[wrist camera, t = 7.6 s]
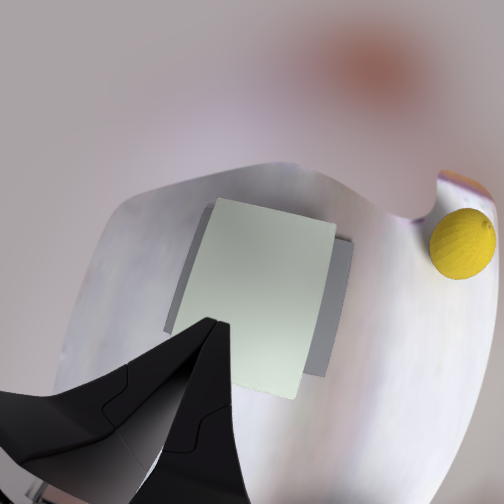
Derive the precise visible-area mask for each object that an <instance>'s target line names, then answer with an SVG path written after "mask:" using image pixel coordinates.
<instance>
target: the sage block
mask: <svg viewBox="0 0 504 504" xmlns="http://www.w3.org/2000/svg"><path fill="white" fill-rule="evenodd" d="M336 227H337V225H336V224H332V223H328V222H324V221H320V220H316V219H312V218H308V217H304V216H300V215H296V214H292V213H288V212H284V211H279V210H275V209H271V208H266V207H262V206H257V205H253V204H248V203H243V202H239V201H234V200H229V199H224V198H220V197H218V198H217V201H216V203H215V206H214V209H213V211H212V214H211V217H210V219H209V222H208V225H207V228H206V230H205V233H204V236H203V239H202V242H201V245H200V247H199V250H198V253H197V256H196V259H195V262H194V265H193V268H192V271H191V274H190V277H189V280H188V283H187V286H186V289H185V292H184V295H183V299H182V302H181V305H180V308H179V311H178V314H177V318H176V321H175V324H174V328H173V331H172V334H171V337H173V336H175V335H176V334H178V333H180V332H181V331H183V330H185V329H186V328H188V327H190V326H191V325H193V324H195V323H196V322H198V321H200V320H201V319H203V318H205V317H210V318H214V319H216V320H218V321H223V322H227V323H229V324H230V339H231V383H232V384H235V385H238V386H242V387H245V388H249V389H253V390H256V391H260V392H264V393H268V394H272V395H276V396H280V397H285V398H289V399H295V396H296V393H297V390H298V387H299V383H300V380H301V377H302V373H303V370H304V366H305V363H306V359H307V356H308V352H309V349H310V345H311V341H312V337H313V333H314V330H315V326H316V322H317V318H318V314H319V309H320V305H321V301H322V297H323V292H324V288H325V283H326V278H327V274H328V269H329V264H330V259H331V254H332V249H333V243H334V238H335V232H336Z"/></svg>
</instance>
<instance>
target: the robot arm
mask: <svg viewBox="0 0 504 504" xmlns="http://www.w3.org/2000/svg"><path fill="white" fill-rule="evenodd" d="M231 404H232V398H231V339H230V324H229V323H227V322H223V321H218V320H216V319H214V318H210V317H205V318H203V319H201V320H200V321H198V322H196V323H195V324H193V325H191V326H190V327H188V328H186V329H185V330H183V331H181V332H180V333H178V334H176V335H175V336H173V337H171V338H170V339H168V340H166V341H165V342H163V343H161V344H159V345H158V346H156V347H154V348H153V349H151V350H149V351H148V352H146V353H144V354H142V355H141V356H139V357H137V358H135V359H134V360H132V361H130V362H128V364H125V365H123V366H121V367H119V368H118V369H116V370H114V371H112V372H110V373H108V374H106V375H104V376H102V377H100V378H98V379H95V380H93V381H91V382H88V383H86V384H83V385H81V386H78V387H76V388H73V389H71V390H68V391H65V392H63V393H60V394H57V395H53V396H44V397H39V396H31V395H23V394H16V393H10V392H4V391H0V504H251V502H250V499H249V497H248V494H247V491H246V488H245V484H244V480H243V476H242V472H241V467H240V463H239V458H238V454H237V449H236V444H235V438H234V432H233V421H232V405H231ZM163 445H164V447H163ZM162 447H163V449H162ZM161 449H162V453H161V455H160V457H159V460H158V462H157V464H156V466H155V468H154V469H153V471H152V472H151V474H150V475H149V476H148V478H147V479H146V481H145V482H144V483H143V485H142V486H141V487H140V489H139V490H138V488H139V486H140V485H141V483H142V481H143V480H144V478H145V476H146V475H147V473H146V472H148V471H149V469H150V468H151V466H152V464H153V463H154V461H155V459H156V457H157V456H158V454H159V452H160V450H161ZM137 490H138V491H137ZM136 491H137V493H136ZM135 493H136V494H135ZM134 495H135V496H134ZM133 496H134V497H133Z"/></svg>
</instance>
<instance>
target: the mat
mask: <svg viewBox="0 0 504 504" xmlns="http://www.w3.org/2000/svg"><path fill="white" fill-rule="evenodd" d="M212 211H213V209H209V208H205V209H204V212H203V215H202V217H201V220H200V223H199V225H198V228H197V231H196V234H195V236H194V239H193V242H192V245H191V247H190V250H189V253H188V256H187V259H186V262H185V265H184V268H183V271H182V273H181V276H180V279H179V282H178V286H177V289H176V292H175V295H174V298H173V301H172V304H171V307H170V311H169V314H168V317H167V320H166V324H165V327H164V330H163V331H164V332H167V333H170V334H172V331H173V328H174V324H175V321H176V318H177V314H178V311H179V308H180V305H181V302H182V299H183V295H184V292H185V289H186V286H187V283H188V280H189V277H190V274H191V271H192V268H193V265H194V262H195V259H196V256H197V253H198V250H199V247H200V245H201V242H202V239H203V236H204V233H205V230H206V228H207V225H208V222H209V219H210V217H211V214H212ZM353 247H354V243H352V242H348V241H344V240H340V239H336V238H334V243H333V249H332V254H331V259H330V264H329V269H328V274H327V278H326V283H325V288H324V292H323V297H322V301H321V305H320V309H319V314H318V318H317V322H316V326H315V330H314V333H313V337H312V341H311V345H310V349H309V352H308V356H307V359H306V363H305V366H304V370H303V373H306V374H311V375H315V376H320V377H325V374H326V370H327V367H328V363H329V359H330V356H331V352H332V348H333V344H334V340H335V336H336V332H337V328H338V324H339V320H340V315H341V311H342V306H343V301H344V297H345V292H346V287H347V281H348V276H349V271H350V265H351V259H352V253H353Z"/></svg>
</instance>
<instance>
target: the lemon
mask: <svg viewBox="0 0 504 504" xmlns="http://www.w3.org/2000/svg"><path fill="white" fill-rule="evenodd" d="M495 247H496V235H495V231H494V228H493V225H492V223H491V222H490V220H489V219H488V218H487V217H486V216H485V215H484V214H483V213H482V212H480V211H478V210H476V209H472V208H463V209H459V210H457V211H454V212H452V213H450V214H448V215H447V216H445V217H444V218H443V219H442V220H441V221H440V222H439V223H438V225H437V226H436V228H435V230H434V232H433V234H432V236H431V240H430V255H431V259H432V262H433V264H434V265H435V267H436V269H437V270H438V271H439V272H440V273H441V274H443V275H444V276H446V277H448V278H451V279H455V280H459V279H467V278H470V277H472V276H474V275H476V274H478V273H479V272H481V271H482V270H483V269H484V268H485V267H486V266H487V264H488V263H489V262H490V261H491V259H492V257H493V254H494V252H495Z"/></svg>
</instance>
